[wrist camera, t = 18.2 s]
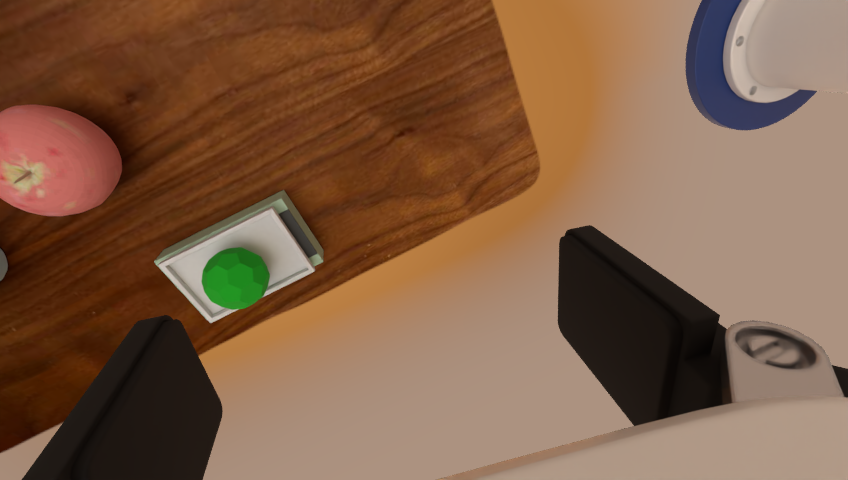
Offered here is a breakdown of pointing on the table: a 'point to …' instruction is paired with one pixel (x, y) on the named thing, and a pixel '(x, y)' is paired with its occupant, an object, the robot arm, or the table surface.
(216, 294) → the polyhedron
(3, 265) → the cup
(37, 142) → the apple
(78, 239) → the table surface
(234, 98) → the table surface
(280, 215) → the scale
